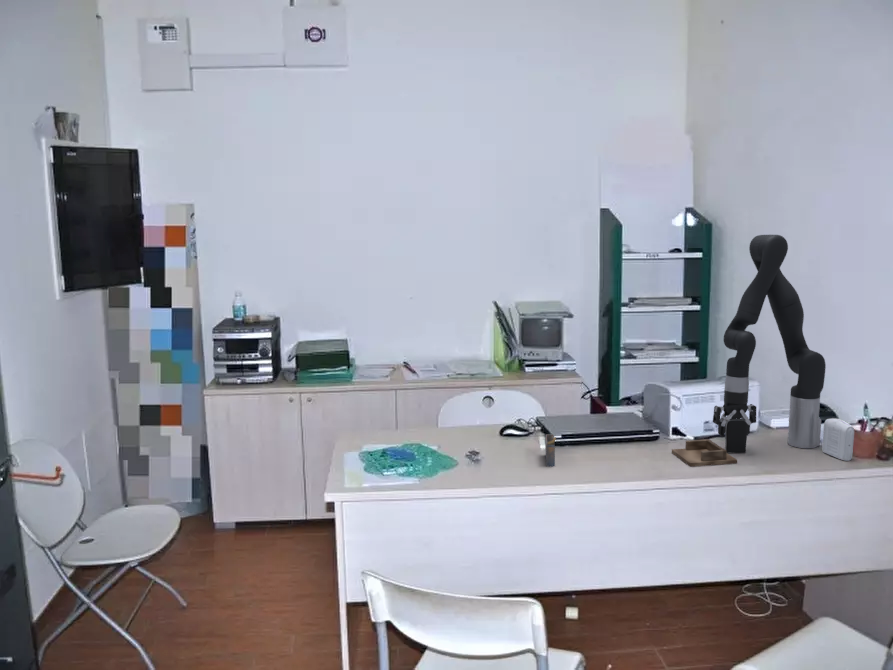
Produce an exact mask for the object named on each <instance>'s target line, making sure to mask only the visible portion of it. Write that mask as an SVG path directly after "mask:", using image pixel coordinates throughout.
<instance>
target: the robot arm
mask: <svg viewBox="0 0 893 670" xmlns="http://www.w3.org/2000/svg"><path fill="white" fill-rule="evenodd" d="M788 250H789V245H788V241H787V239H786V238H785V237H783V235H780V234H759V235H756V236H754V237H753V238H752V239H751V240H750V243H749V255H750V257H751V260H752V262H753V264H754V266H755V269H756V270H757V273H756V275H755V276H754V278H753V280H752V281H751V283H750V284H749V285H748V286H747V288H746V289H745V291H744V292H743V294H742V296H741V298H740V301H739V305H738V307H737V311H736V314H735V316H734V317H733V318H732V320H731V321H730V323H729V325H728V326H727V328H726V330H725V331H724V334H723V344H724V346H725V348H727V349H729V350H733V351H736V354H735V356H733V357H729V358H728V359H727V360H726V370H725V371H726V372H725V373H726V374H725V380H724V388H723V389H724V390H723V391H724V392H723V393H724V394H723V405H722V406H718V405H714V408H713V416H712V423H714V424H715V425H717V434H718V435H719V437H721V438H725V424H726V422H728V421H729V420H730V419H743V420H745V421H746V422H747V437H748V436H749V435H750V432H751V425H752V424H756V423H757V406H756V405H754V404H753V403H751V404H749V405H748V402H749V391H750V390H749V389H750V382H749V381H750V379H749V375H750V364H751V361H752V358H753V355H754V353H755V350H756V346H757V339H756V337H755V334H754V333H752V332H751V331H749V330H747V328H748V326H751V325H752V326H753V325H756V324H757V322H758V321H759V318H760V315H761V312H762V310H763V306H764V303H765V300H766V298H767V299H768V303H769V306H770V310H771V312H772V314H773V317H774V320H775V323H776V325H777V328H778V331H779V333H780V337H781V340H782V343H783V348H784V352H785V356H786V357H785V358H786V362H787V366H788V367H789V369H790V370H791V371H792V372H793V373H794V374H796V375H797V376H798V377H797V384H796V385H792V386H791V388H790V396H789V397H790V398H789V413H788V416H789V417H788V432H787V444H788V445H789V446H792V447H794V448H800V449H813V448H816V447H820V446H821V435H822V434H821V432H822V430H821V429H822V419H821V418H820V406H821V405H820V404H821V403H820V402H821V394H822V391H823V389H824V384H825V378H826V377H825V376H826V368H827V367H826V359H825V357H824V356H823V355H822V353H820V352H818V351H814V350H811V349H810V347H809V346H808V344H807V341H806V338H805V336H804V331H803V329H804V328H803V327H804V320H805V316H804V315H805V314H804V313H805V312H804V308H803V304H802V302H801V299H800V296H799V294H798V292H797V290H796V289H795V287H794V286H793V284H792V283H791V282H790V281H789V280H788V278H786V276H785V274H783V272H782V270H781V266H782V264H783V263H784V260H785V259H786V257H787V253H788ZM747 411H748V415H749V417H748V416H747V413H746V412H747ZM722 413H723V414H722Z"/></svg>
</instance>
